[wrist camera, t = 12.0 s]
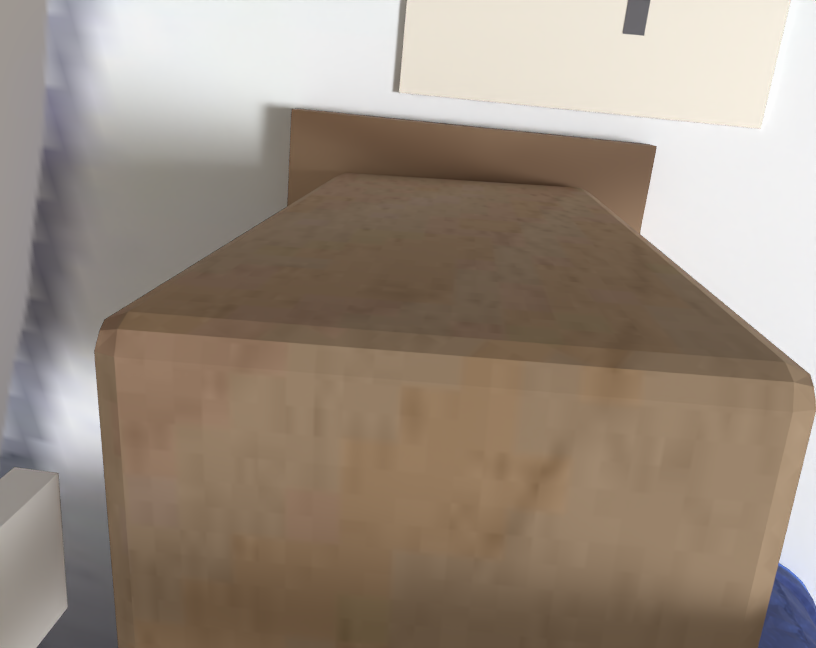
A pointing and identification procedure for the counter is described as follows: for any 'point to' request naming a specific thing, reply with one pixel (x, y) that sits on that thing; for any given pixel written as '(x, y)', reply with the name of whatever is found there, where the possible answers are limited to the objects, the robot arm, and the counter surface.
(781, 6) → the tile
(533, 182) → the board
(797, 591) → the lunch bag
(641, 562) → the wooden block
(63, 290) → the counter surface
